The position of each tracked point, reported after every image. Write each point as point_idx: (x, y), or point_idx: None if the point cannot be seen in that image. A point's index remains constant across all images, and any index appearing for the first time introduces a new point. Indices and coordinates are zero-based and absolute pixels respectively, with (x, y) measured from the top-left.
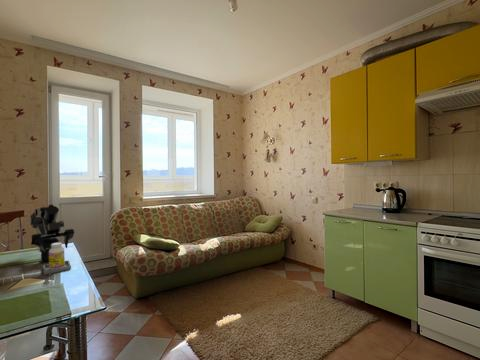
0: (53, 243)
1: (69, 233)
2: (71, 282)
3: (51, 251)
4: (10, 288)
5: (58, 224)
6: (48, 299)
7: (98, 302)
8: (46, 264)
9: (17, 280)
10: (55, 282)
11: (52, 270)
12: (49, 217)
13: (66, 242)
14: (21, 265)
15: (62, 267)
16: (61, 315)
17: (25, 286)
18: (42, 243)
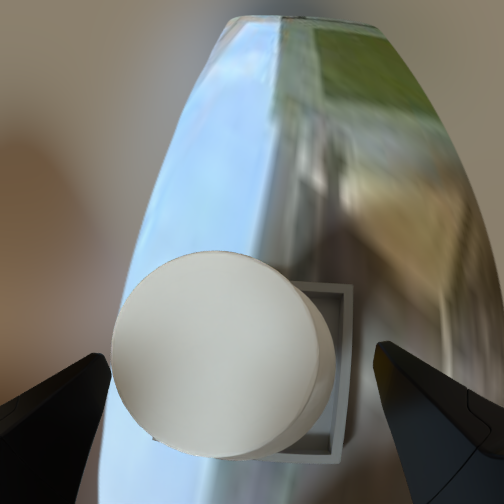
0: (256, 423)
1: None
2: (242, 109)
3: (309, 301)
4: (463, 201)
5: None
6: (321, 58)
7: (229, 23)
8: (318, 460)
9: (464, 296)
10: (298, 140)
11: (299, 283)
12: None
13: (50, 387)
14: None
15: None
16: (297, 19)
17: (414, 179)
18: (479, 419)
